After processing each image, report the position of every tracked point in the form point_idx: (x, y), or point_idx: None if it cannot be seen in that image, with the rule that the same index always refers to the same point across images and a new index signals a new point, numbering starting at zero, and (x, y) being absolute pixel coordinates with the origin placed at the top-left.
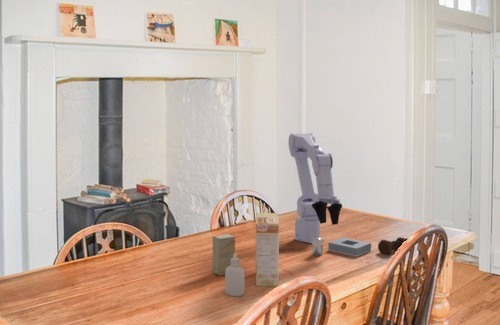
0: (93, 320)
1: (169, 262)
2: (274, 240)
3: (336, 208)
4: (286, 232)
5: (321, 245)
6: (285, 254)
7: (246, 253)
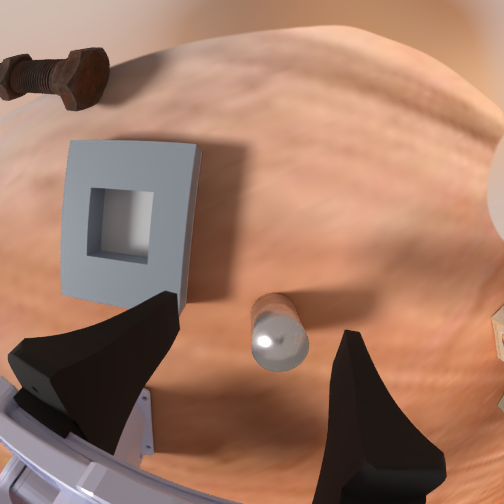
0: None
1: (469, 485)
2: None
3: (94, 376)
4: None
5: (283, 309)
6: None
7: None
